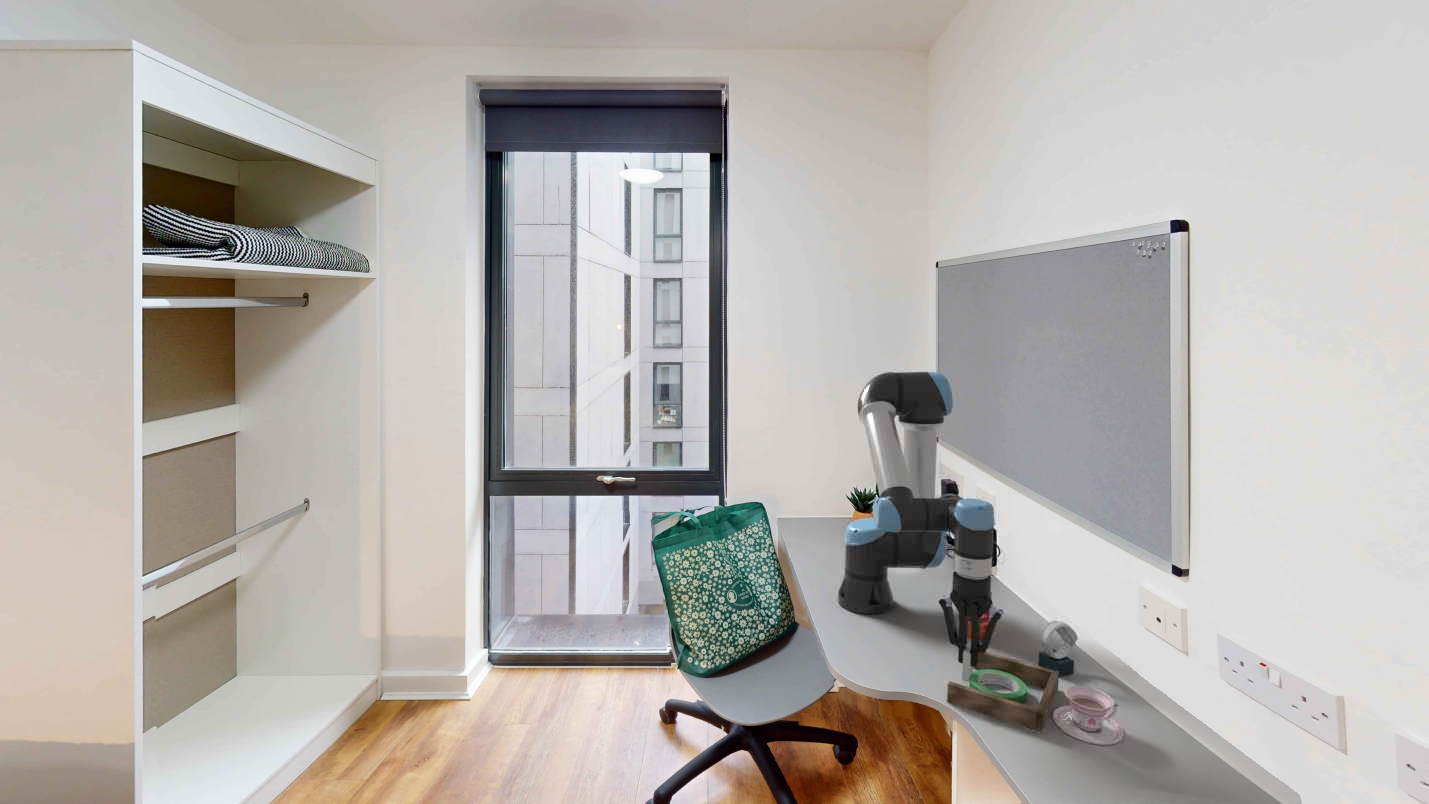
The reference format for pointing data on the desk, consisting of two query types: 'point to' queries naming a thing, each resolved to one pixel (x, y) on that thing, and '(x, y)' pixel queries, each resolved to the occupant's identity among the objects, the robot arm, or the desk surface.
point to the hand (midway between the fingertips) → (967, 678)
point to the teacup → (1089, 716)
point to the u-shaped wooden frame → (1005, 707)
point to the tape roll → (1002, 679)
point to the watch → (1059, 658)
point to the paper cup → (983, 622)
